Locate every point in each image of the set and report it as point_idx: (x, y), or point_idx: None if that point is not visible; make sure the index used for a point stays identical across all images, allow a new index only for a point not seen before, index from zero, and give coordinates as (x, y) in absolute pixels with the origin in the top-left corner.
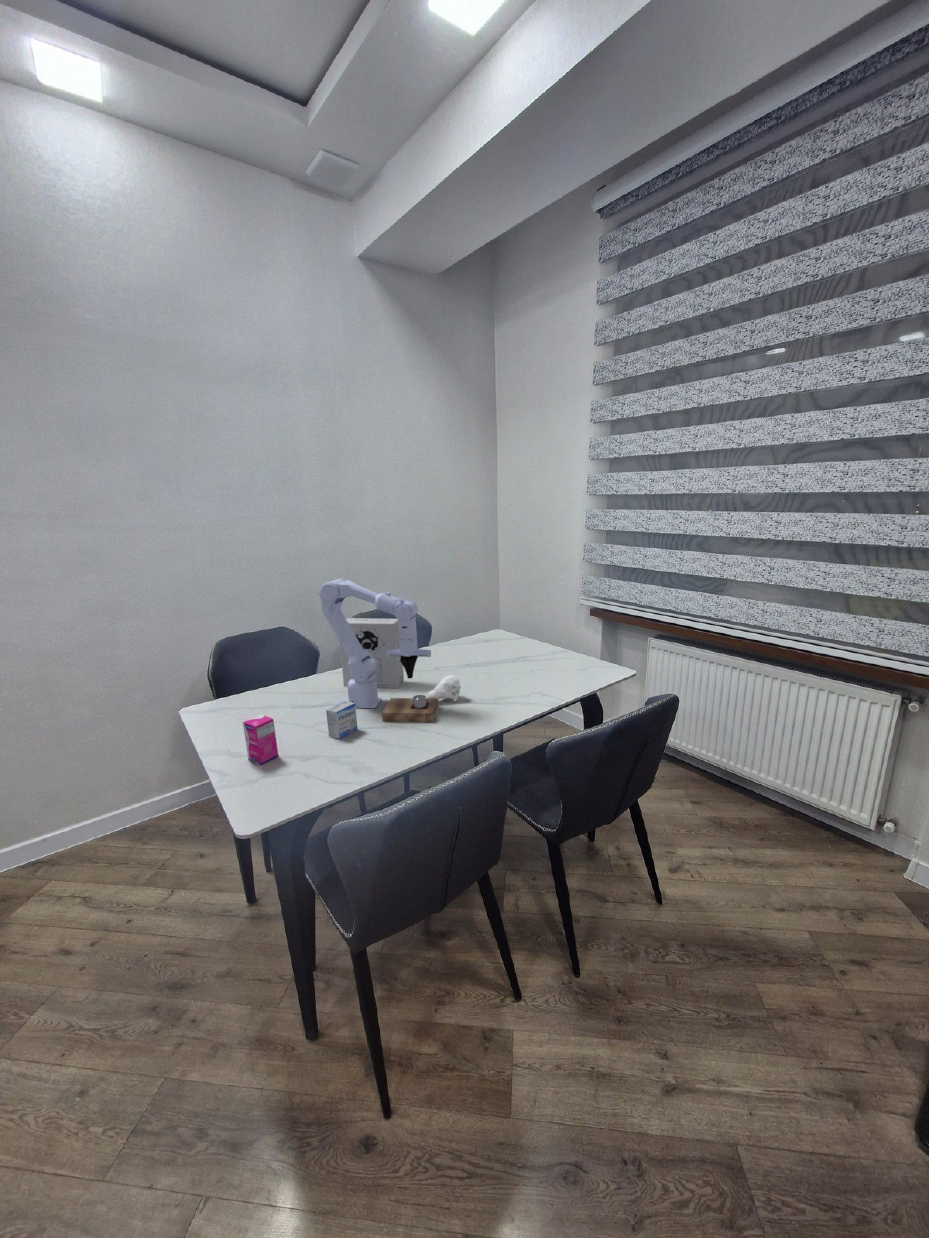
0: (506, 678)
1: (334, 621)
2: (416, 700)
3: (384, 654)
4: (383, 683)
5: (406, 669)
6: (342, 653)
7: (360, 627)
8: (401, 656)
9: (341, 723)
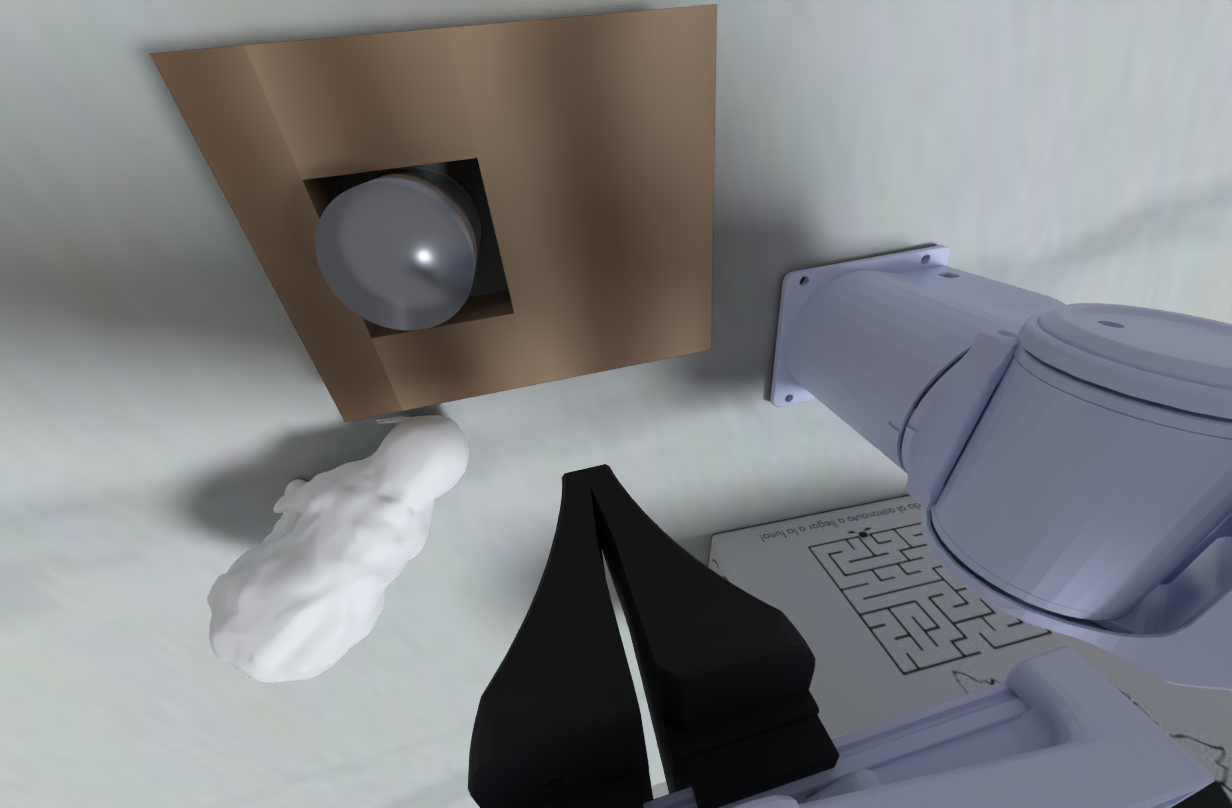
0: (201, 768)
1: None
2: (397, 183)
3: None
4: (795, 538)
5: (640, 534)
6: None
7: None
8: (817, 751)
9: None
